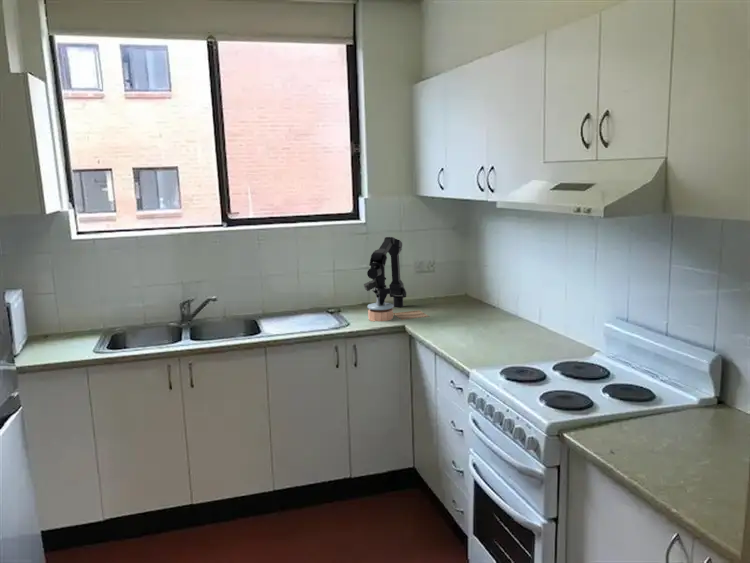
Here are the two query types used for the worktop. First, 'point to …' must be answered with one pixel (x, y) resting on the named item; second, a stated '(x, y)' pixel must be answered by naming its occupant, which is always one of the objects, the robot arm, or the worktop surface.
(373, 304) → the lid
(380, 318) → the bowl
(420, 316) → the board
